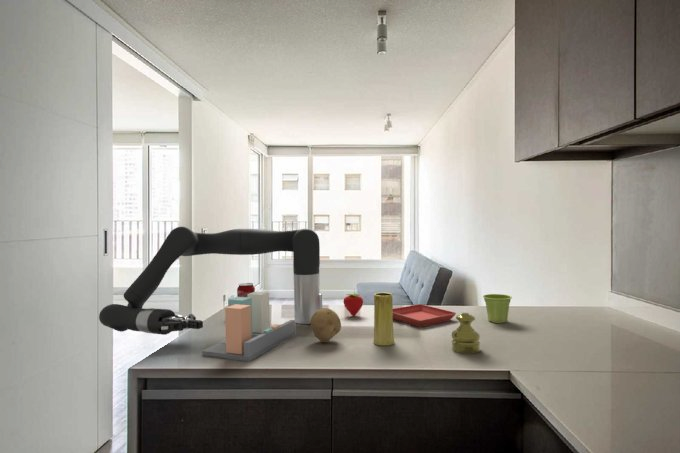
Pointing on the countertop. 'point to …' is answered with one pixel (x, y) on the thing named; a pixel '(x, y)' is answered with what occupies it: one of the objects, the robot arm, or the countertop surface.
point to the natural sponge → (325, 324)
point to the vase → (383, 319)
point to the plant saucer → (422, 315)
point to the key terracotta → (237, 327)
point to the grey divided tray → (256, 343)
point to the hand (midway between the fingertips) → (201, 324)
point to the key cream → (260, 311)
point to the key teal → (241, 302)
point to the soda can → (245, 289)
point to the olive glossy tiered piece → (465, 335)
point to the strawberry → (353, 303)
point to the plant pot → (497, 307)
